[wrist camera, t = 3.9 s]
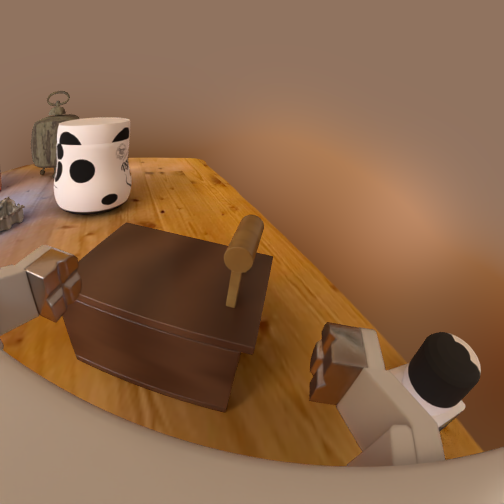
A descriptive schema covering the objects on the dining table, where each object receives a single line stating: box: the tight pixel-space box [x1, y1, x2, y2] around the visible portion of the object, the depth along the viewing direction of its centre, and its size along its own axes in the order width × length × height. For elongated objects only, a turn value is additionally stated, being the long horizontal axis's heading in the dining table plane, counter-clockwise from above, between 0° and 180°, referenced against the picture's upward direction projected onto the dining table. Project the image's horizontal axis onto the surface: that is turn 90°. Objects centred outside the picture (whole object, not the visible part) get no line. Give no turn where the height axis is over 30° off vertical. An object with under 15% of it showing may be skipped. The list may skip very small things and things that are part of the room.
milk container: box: [54, 117, 131, 215], centre depth 51 cm, size 17×17×18 cm
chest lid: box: [77, 215, 273, 355], centre depth 23 cm, size 16×13×6 cm
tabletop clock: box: [31, 91, 79, 179], centre depth 62 cm, size 14×9×25 cm, turn 114°
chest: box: [63, 300, 241, 412], centre depth 27 cm, size 16×13×9 cm
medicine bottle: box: [387, 332, 481, 432], centre depth 20 cm, size 7×7×12 cm
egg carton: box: [0, 197, 24, 231], centre depth 40 cm, size 11×8×4 cm
